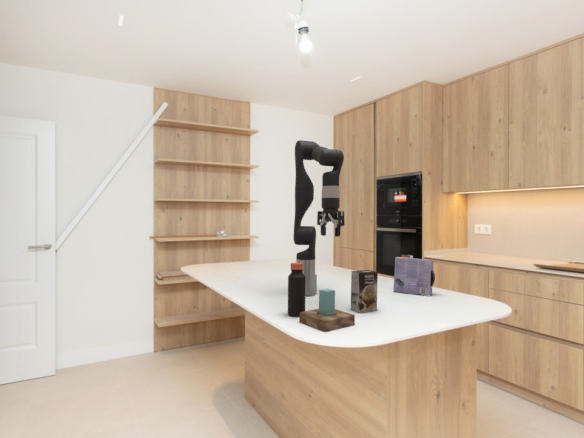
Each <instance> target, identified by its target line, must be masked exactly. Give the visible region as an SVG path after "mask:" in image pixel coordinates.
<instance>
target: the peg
mask: <svg viewBox="0 0 584 438" xmlns="http://www.w3.org/2000/svg"><path fill="white" fill-rule="evenodd" d="M335 304H336V290H335V289H332V288H323V289H318V309H319V314H320V315H323V316H326V317H327V316H331V315H335V309H336V305H335Z"/></svg>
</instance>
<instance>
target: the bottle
mask: <svg viewBox="0 0 584 438" xmlns="http://www.w3.org/2000/svg"><path fill="white" fill-rule="evenodd" d="M302 271H303V263H296V262H290V272H291V273H289V275H288V277H287V315H288V316H290V317H293V318H294V317H297V318H299V312H304V311H306V296H305V275H304V274H303V273H302Z"/></svg>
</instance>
